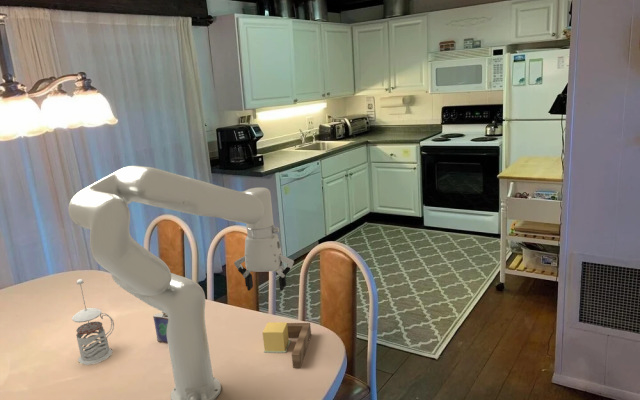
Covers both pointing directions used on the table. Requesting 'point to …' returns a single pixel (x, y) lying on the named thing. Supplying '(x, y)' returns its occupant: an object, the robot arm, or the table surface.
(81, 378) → the table surface
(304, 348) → the brown l-shaped piece
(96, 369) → the table surface
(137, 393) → the table surface
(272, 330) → the cube
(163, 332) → the purple clover tin
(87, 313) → the french press
